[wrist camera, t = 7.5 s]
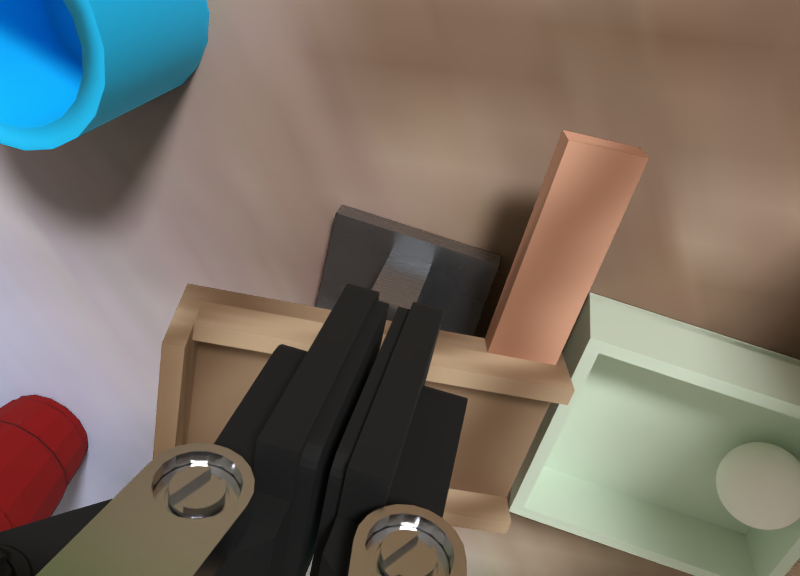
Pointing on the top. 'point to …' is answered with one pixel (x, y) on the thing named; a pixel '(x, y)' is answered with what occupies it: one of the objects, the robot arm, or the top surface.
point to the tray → (660, 441)
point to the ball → (760, 485)
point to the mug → (90, 62)
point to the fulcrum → (407, 268)
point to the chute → (454, 353)
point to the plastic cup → (36, 458)
